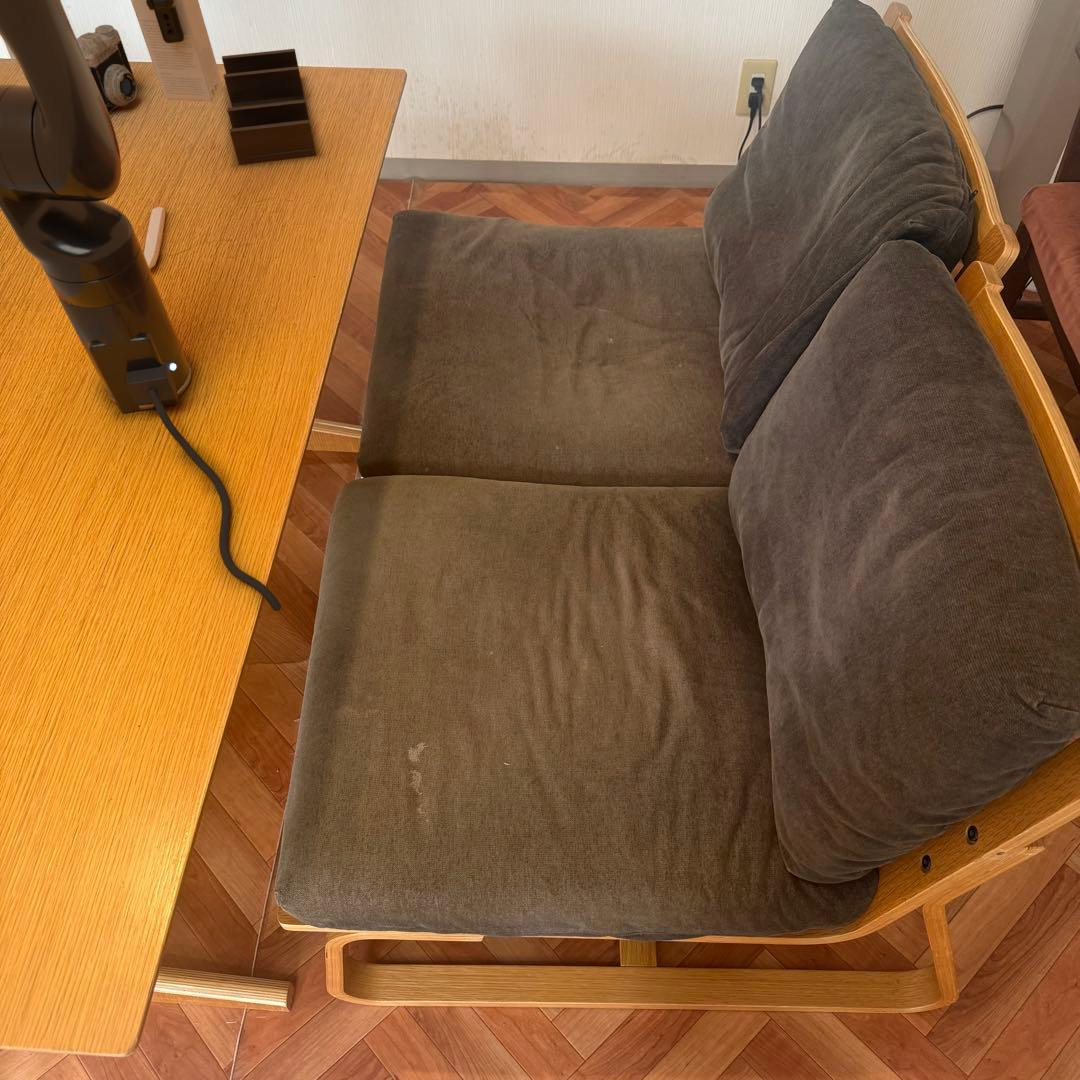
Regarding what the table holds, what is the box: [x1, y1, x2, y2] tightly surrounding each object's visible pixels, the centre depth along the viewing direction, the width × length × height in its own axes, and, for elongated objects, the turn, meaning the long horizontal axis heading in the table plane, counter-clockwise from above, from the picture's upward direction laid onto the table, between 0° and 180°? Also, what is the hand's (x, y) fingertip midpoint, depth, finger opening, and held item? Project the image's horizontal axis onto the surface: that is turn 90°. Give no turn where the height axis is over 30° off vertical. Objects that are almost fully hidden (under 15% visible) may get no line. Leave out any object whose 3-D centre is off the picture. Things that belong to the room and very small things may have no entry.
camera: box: [76, 24, 138, 114], centre depth 132 cm, size 15×7×10 cm, turn 162°
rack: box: [221, 48, 317, 166], centre depth 133 cm, size 22×11×5 cm, turn 15°
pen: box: [143, 206, 166, 270], centre depth 116 cm, size 2×14×2 cm, turn 8°
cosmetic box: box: [130, 0, 223, 103], centre depth 103 cm, size 6×4×12 cm
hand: (173, 27), depth 101 cm, fingers closed on cosmetic box, 5 cm apart
